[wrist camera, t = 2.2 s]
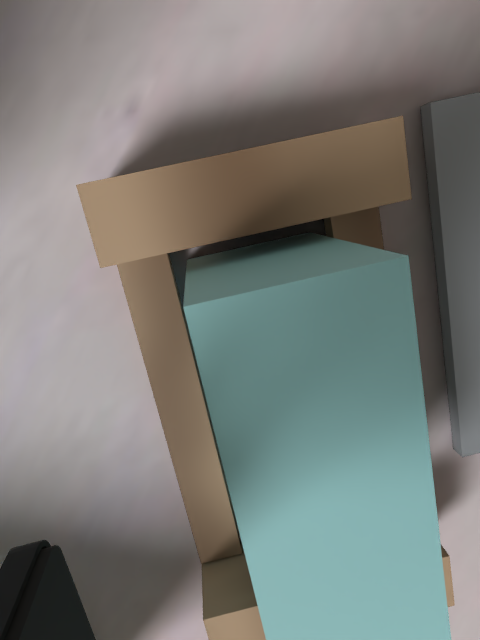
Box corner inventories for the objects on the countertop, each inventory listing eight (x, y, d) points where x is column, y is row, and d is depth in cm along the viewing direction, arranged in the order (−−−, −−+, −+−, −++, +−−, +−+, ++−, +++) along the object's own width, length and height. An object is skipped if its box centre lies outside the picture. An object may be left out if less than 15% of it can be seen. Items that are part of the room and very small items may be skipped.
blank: (309, 232, 15) (408, 256, 8) (352, 494, 17) (455, 680, 11) (187, 259, 15) (183, 307, 8) (249, 521, 17) (287, 726, 10)
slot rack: (359, 133, 14) (403, 115, 11) (412, 540, 18) (454, 605, 15) (100, 189, 14) (76, 184, 11) (213, 591, 18) (217, 668, 15)
